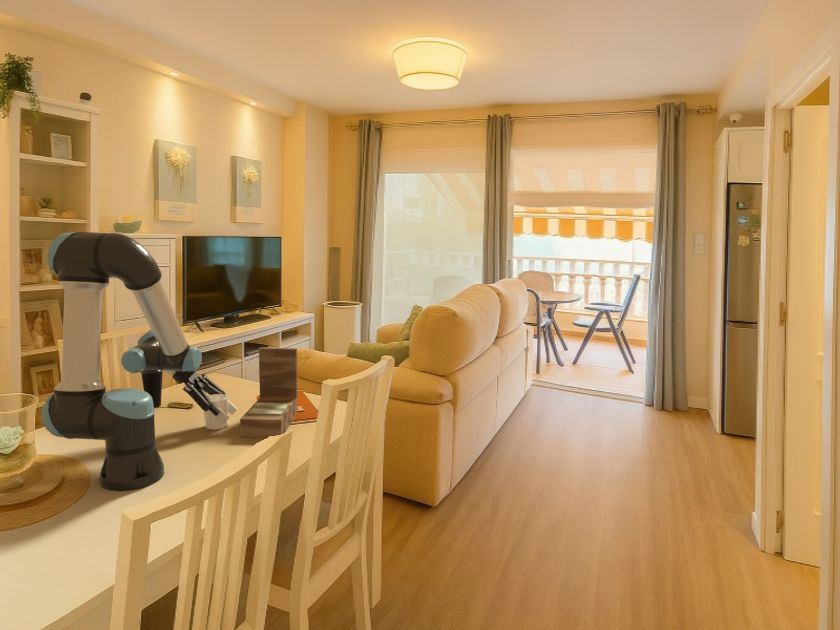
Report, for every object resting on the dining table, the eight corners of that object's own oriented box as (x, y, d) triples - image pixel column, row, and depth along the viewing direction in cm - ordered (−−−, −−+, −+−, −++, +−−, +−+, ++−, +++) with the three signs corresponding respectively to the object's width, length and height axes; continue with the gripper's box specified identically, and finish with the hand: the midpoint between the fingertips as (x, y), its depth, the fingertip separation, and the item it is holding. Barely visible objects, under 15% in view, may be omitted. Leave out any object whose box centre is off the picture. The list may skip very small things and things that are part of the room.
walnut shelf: (281, 438, 177) (280, 365, 174) (240, 437, 177) (238, 363, 174) (297, 413, 201) (296, 348, 197) (261, 412, 201) (260, 347, 197)
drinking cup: (169, 405, 206) (167, 352, 203) (150, 410, 200) (147, 356, 197) (157, 401, 210) (154, 349, 207) (137, 406, 204) (134, 353, 201)
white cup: (220, 431, 182) (219, 402, 180) (198, 429, 183) (197, 400, 182) (233, 423, 189) (232, 395, 188) (212, 421, 191) (211, 393, 189)
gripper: (185, 368, 194) (233, 413, 196) (158, 384, 173) (211, 435, 176) (200, 353, 193) (247, 399, 195) (174, 368, 173) (228, 419, 175)
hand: (230, 416), depth 186 cm, fingers closed on white cup, 8 cm apart
